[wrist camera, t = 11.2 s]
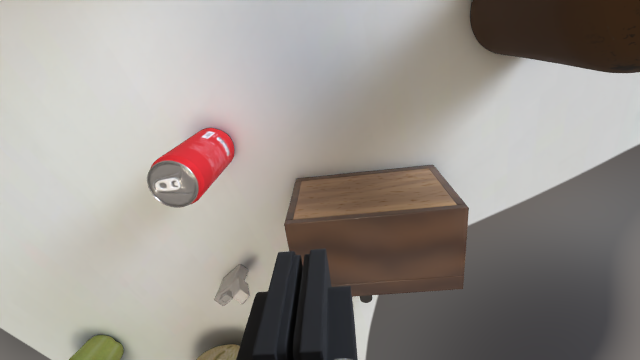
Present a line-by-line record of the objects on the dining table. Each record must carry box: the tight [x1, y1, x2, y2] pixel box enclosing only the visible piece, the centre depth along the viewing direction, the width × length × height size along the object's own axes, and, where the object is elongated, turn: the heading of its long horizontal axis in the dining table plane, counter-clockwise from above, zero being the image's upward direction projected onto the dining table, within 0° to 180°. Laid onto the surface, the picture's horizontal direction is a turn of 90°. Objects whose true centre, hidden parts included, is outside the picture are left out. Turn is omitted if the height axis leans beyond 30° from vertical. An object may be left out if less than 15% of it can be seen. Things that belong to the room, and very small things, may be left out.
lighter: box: [214, 264, 250, 306], centre depth 44 cm, size 7×2×8 cm, turn 135°
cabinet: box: [284, 165, 469, 297], centre depth 37 cm, size 10×18×11 cm, turn 97°
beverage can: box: [147, 128, 234, 207], centre depth 34 cm, size 5×5×12 cm
